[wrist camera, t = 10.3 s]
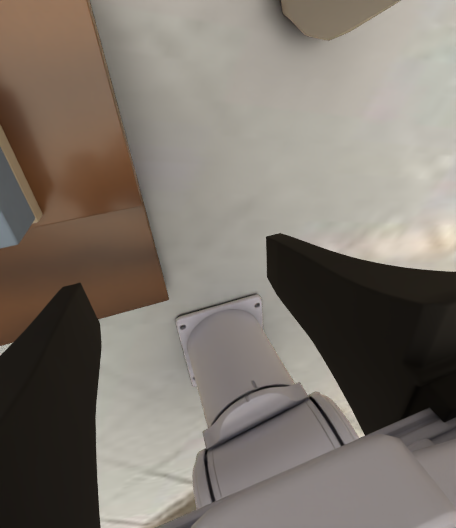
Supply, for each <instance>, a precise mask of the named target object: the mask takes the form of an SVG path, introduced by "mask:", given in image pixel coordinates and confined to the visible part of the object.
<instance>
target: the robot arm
mask: <svg viewBox="0 0 456 528" xmlns="http://www.w3.org/2000/svg"><path fill="white" fill-rule="evenodd" d="M266 249H267V278H268V280H269V281H270V283H271V285H272V287H273V289H274V290H275V292H276V294H277V296H278V297H279V298H280V300H281V301H282V302H283V304H284V305H285V306H286V307H287V309H288V310H289V311H290V313H291V314H292V315H293V316H294V318H295V319H296V320H297V322H298V323H299V324H300V325H301V327H302V328H303V329H304V331H305V332H306V333H307V334H308V336H309V337H310V339H311V340H312V341H313V343H314V345H315V346H316V348H317V349H318V351H319V353H320V354H321V356H322V357H323V359H324V361H325V362H326V364H327V366H328V368H329V369H330V371H331V373H332V374H333V376H334V378H335V380H336V381H337V383H338V385H339V387H340V389H341V390H342V392H343V394H344V396H345V398H346V400H347V401H348V403H349V405H350V407H351V409H352V411H353V413H354V415H355V417H356V419H357V421H358V423H359V425H360V427H361V429H362V430H363V432H364V434H365V436H363V437H361V438H359V437H358V435H357V433H356V432H355V430H354V429H353V427H352V425H351V424H350V422H349V421H348V419H347V418H346V417H345V415H344V414H343V412H342V411H341V410H340V408H339V407H338V406H337V405H336V404H335V403H334V402H333V400H331V399H330V398H329V397H327V396H324V395H321V394H320V393H318V392H313V393H312V394H310V395H307V393H306V392H305V390H304V388H303V387H302V385H301V383H299V382H298V383H296V384H295V383H294V381H293V379H292V378H291V376H290V374H289V373H288V371H287V369H286V368H285V366H284V364H283V363H282V361H281V359H280V358H279V356H278V354H277V353H276V351H275V349H274V348H273V346H272V344H271V343H270V341H269V339H268V338H267V336H266V334H265V333H264V331H263V315H262V299H261V297H260V296H259V295H253V296H249V297H246V298H242V299H239V300H235V301H232V302H228V303H225V304H221V305H218V306H214V307H211V308H207V309H204V310H200V311H197V312H193V313H190V314H186V315H183V316H180V317H178V318H177V319H176V326H177V330H178V334H179V337H180V341H181V345H182V349H183V352H184V356H185V360H186V364H187V367H188V371H189V375H190V379H191V382H192V386H193V387H197V388H198V392H199V396H200V400H201V403H202V407H203V411H204V415H205V419H206V422H207V426H208V429H206V430H204V431H203V432H202V433H203V437H204V441H205V445H206V448H205V449H203V450H201V451H199V452H198V454H197V456H196V462H195V465H194V468H193V475H192V478H193V490H194V496H195V502H196V507H197V510H194V511H192V512H190V513H188V514H185V515H183V516H181V517H178V518H176V519H174V520H172V521H169V522H167V523H165V524H162V525H160V526H158V527H156V528H456V272H446V271H433V270H421V269H412V268H404V267H398V266H391V265H385V264H380V263H374V262H370V261H366V260H361V259H357V258H353V257H349V256H346V255H343V254H339V253H336V252H333V251H330V250H327V249H324V248H321V247H318V246H315V245H313V244H310V243H307V242H304V241H302V240H299V239H296V238H294V237H291V236H288V235H284V234H281V233H279V234H275V235H271V236H267V237H266ZM256 303H258V304H257V305H255V304H256ZM182 325H184V326H183V327H181V326H182ZM100 358H101V331H100V323H99V321H98V318H97V316H96V314H95V312H94V310H93V308H92V306H91V304H90V301H89V299H88V297H87V295H86V293H85V291H84V289H83V286H82V284H81V283H77V284H73V285H69V286H64V287H62V288H61V289H60V290H59V291H58V292H57V293H56V295H55V296H54V297H53V298H52V299H51V300H50V302H49V303H48V304H47V305H46V306H45V308H44V309H43V310H42V311H41V312H40V313H39V315H38V316H37V317H36V318H35V319H34V320H33V322H32V323H31V324H30V325H29V326H28V327H27V328H26V329H25V331H24V332H23V333H22V334H21V335H20V336H19V337H18V338H17V339H16V340H15V341H14V342H13V343H12V344H11V345H10V346H9V348H8V349H7V350H6V351H5V352H4V353H3V354H2V355H1V356H0V528H100V516H99V501H98V484H97V462H96V422H95V416H96V400H97V390H98V379H99V369H100Z"/></svg>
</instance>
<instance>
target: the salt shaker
mask: <svg viewBox="0 0 456 528" xmlns="http://www.w3.org/2000/svg"><path fill="white" fill-rule="evenodd" d="M399 1H401V0H281V5H282V11H283V14H284V15H285V16H286V17H288V18H289V19H290V20H291V21H292V22H293V23H294V24H295V25H296V26H297V27H298V28H299V29H300V31H301V32H302V33H303V34H304V35H306V36H310V37H314V38H318V39H322V40H332V39H334V38H336V37H339V36H341V35H344V34H346V33H348V32H351V31H352V30H354V29H356V28H357V27H359V26H360V25H362V24H364V23H365V22H367V21H369V20H370V19H372V18H373V17H375V16H377V15H378V14H380V13H382V12H383V11H385V10H386V9H388V8H390V7H391V6H393V5H395V4H396V3H398V2H399Z"/></svg>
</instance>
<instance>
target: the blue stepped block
mask: <svg viewBox="0 0 456 528" xmlns="http://www.w3.org/2000/svg"><path fill="white" fill-rule="evenodd" d="M42 215H43V214H42V212H41V210H40V207H39V205H38V203H37V201H36V199H35V197H34V195H33V193H32V190H31V188H30V186H29V184H28V182H27V180H26V178H25V176H24V173H23V171H22V169H21V167H20V165H19V163H18V161H17V159H16V157H15V154H14V152H13V150H12V148H11V146H10V144H9V142H8V140H7V137H6V135H5V133H4V131H3V129H2V127H1V125H0V248H5V247H9V246H14V245H18V244H19V243H20V241H21V240H22V238H23V237H24V235H25V234H26V232H27V230H28V229H29V227H30V226H31V224H33V223H37V222H39V220H40V218H41V217H42Z"/></svg>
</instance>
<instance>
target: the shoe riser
mask: <svg viewBox="0 0 456 528" xmlns="http://www.w3.org/2000/svg"><path fill="white" fill-rule="evenodd" d="M0 125H1V127H2V129H3V131H4V133H5V135H6V137H7V140H8V142H9V144H10V146H11V148H12V150H13V152H14V154H15V157H16V159H17V161H18V163H19V165H20V167H21V169H22V171H23V173H24V176H25V178H26V180H27V182H28V184H29V186H30V188H31V190H32V193H33V195H34V197H35V199H36V201H37V203H38V205H39V207H40V210H41V212H42V214H43V215H42V217H41V218H40V220H39V222H37V223H33V224H31V226H30V227H29V229H28V230H27V232H26V234H25V235H24V237H23V238H22V240H21V241H20V243H19V244H18V245H14V246H9V247H5V248H0V346H2V345H5V344H9V343H13V342H14V341H15V340H16V339H17V338H18V337H19V336H20V335H21V334H22V333H23V332H24V331H25V329H26V328H27V327H28V326H29V325H30V324H31V323H32V322H33V320H34V319H35V318H36V317H37V316H38V315H39V313H40V312H41V311H42V310H43V309H44V308H45V306H46V305H47V304H48V303H49V302H50V300H51V299H52V298H53V297H54V296H55V295H56V293H57V292H58V291H59V290H60V289H61V288H62V287H64V286H69V285H73V284H77V283H81V284H82V286H83V289H84V291H85V293H86V295H87V297H88V299H89V301H90V304H91V306H92V308H93V310H94V312H95V314H96V316H97V318H98V319H101V318H104V317H108V316H112V315H115V314H119V313H123V312H126V311H130V310H134V309H137V308H141V307H145V306H148V305H152V304H156V303H159V302H163V301H167V300H169V297H168V292H167V288H166V285H165V281H164V277H163V273H162V270H161V266H160V262H159V258H158V255H157V251H156V247H155V243H154V240H153V236H152V232H151V228H150V225H149V221H148V217H147V213H146V210H145V206H144V202H143V198H142V195H141V191H140V187H139V183H138V180H137V176H136V172H135V168H134V165H133V161H132V157H131V153H130V150H129V146H128V142H127V138H126V135H125V131H124V127H123V123H122V120H121V116H120V112H119V108H118V105H117V101H116V97H115V93H114V90H113V86H112V82H111V78H110V75H109V71H108V67H107V63H106V60H105V56H104V52H103V48H102V45H101V41H100V37H99V33H98V30H97V26H96V22H95V18H94V15H93V11H92V7H91V3H90V0H0Z"/></svg>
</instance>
